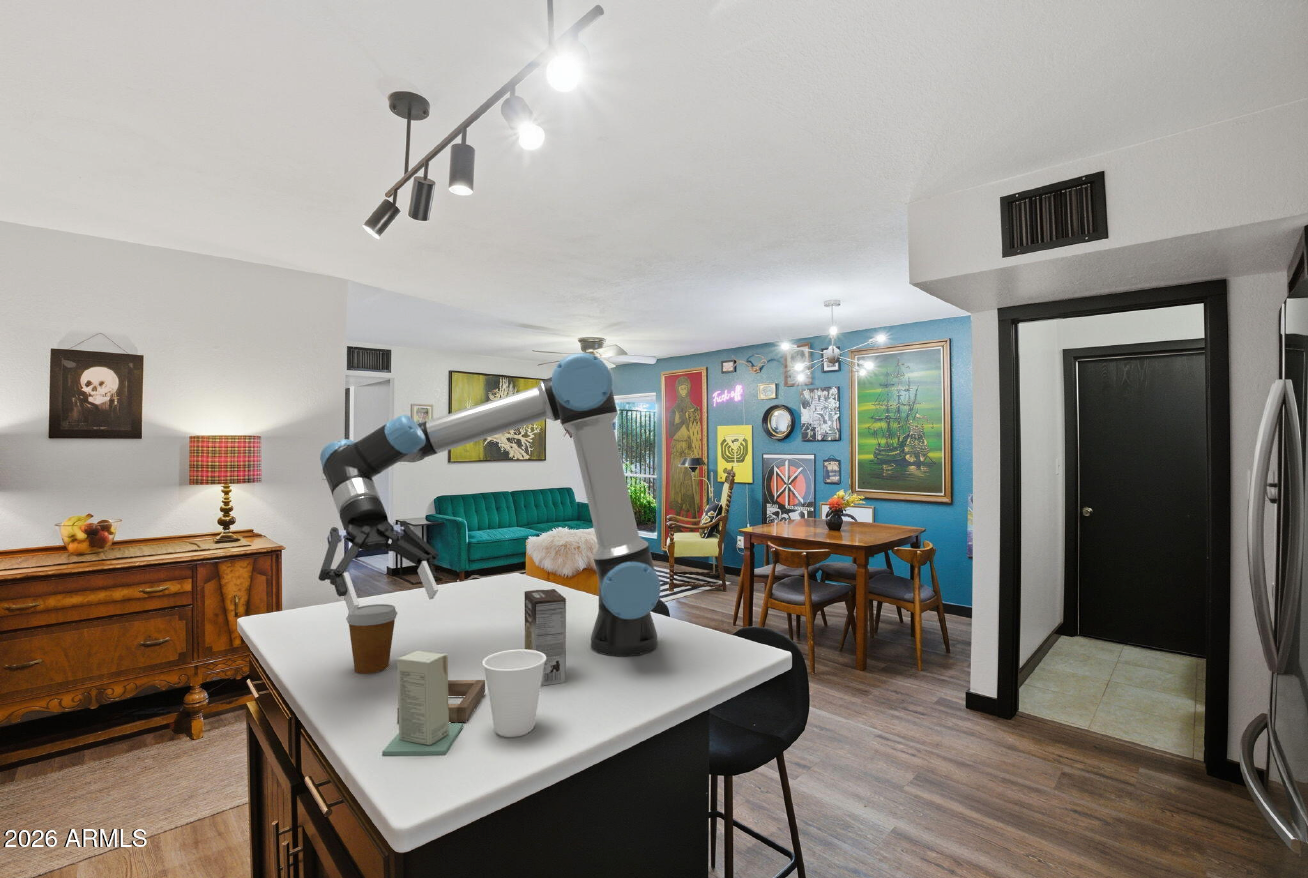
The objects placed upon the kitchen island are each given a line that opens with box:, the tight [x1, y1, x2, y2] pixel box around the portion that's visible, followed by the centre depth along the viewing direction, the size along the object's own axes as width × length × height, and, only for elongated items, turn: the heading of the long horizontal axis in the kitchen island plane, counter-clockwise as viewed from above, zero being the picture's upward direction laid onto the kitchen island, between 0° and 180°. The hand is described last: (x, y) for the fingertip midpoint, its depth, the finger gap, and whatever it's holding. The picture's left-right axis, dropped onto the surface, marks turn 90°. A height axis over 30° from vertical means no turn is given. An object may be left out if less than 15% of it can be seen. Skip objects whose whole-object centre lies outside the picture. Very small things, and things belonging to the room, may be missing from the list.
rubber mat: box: [381, 723, 464, 757], centre depth 92 cm, size 9×9×1 cm
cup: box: [481, 648, 546, 738], centre depth 96 cm, size 10×10×11 cm
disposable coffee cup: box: [345, 603, 398, 675], centre depth 124 cm, size 10×10×12 cm
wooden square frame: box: [396, 679, 486, 725], centre depth 104 cm, size 11×12×2 cm
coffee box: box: [524, 588, 567, 687], centre depth 119 cm, size 9×6×16 cm
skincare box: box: [397, 650, 449, 745], centre depth 92 cm, size 6×4×12 cm
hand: (396, 602), depth 104 cm, fingers open, 13 cm apart
